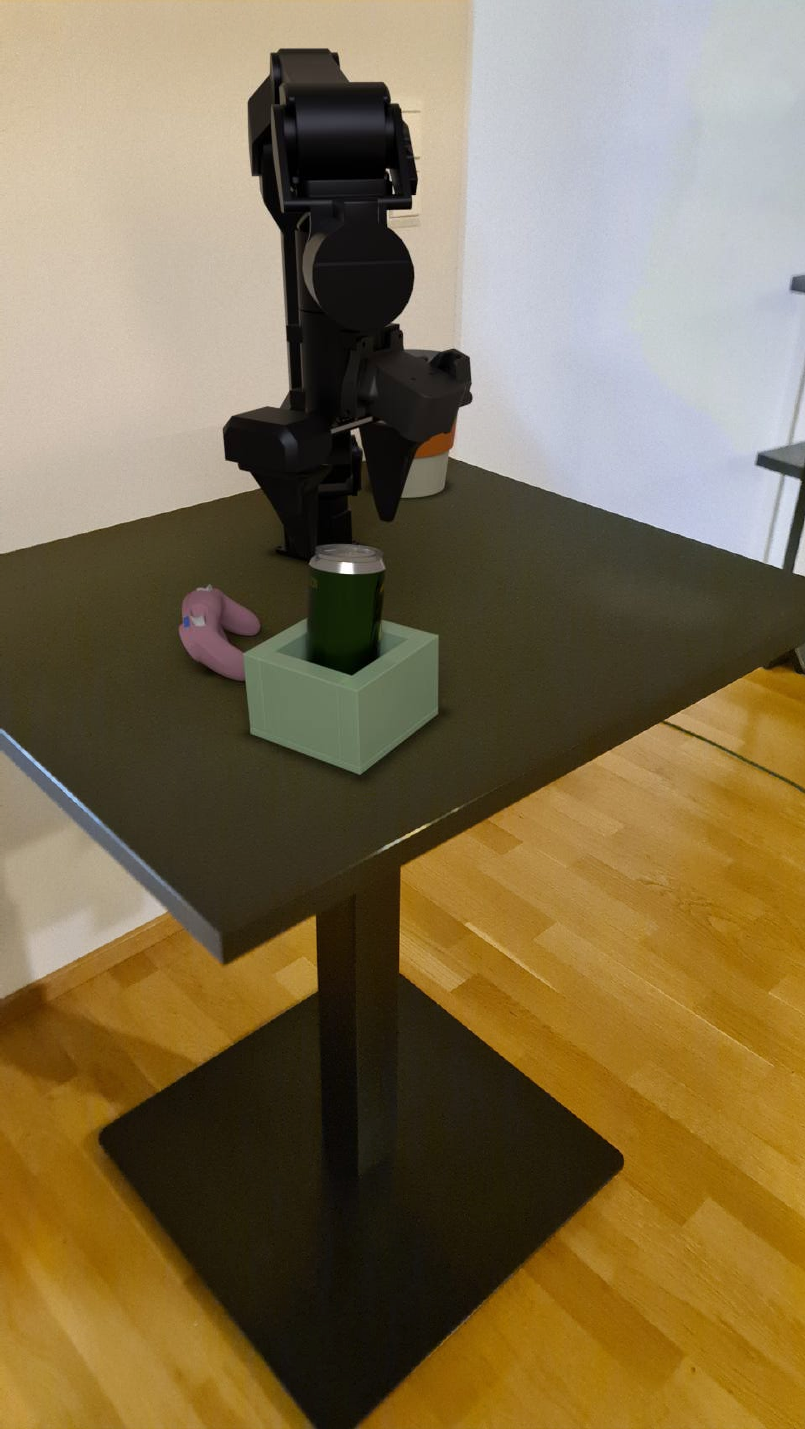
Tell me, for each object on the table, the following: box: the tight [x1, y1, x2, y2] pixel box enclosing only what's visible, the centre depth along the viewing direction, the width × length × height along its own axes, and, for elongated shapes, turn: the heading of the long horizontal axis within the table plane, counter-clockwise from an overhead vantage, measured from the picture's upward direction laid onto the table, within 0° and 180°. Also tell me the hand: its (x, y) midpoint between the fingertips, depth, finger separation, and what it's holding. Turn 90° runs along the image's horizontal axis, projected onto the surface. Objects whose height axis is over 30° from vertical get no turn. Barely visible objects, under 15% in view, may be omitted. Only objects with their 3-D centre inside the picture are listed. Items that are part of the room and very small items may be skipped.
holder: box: [243, 617, 440, 776], centre depth 74 cm, size 10×10×7 cm
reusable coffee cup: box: [360, 348, 459, 499], centre depth 122 cm, size 12×13×15 cm
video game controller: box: [178, 583, 261, 682], centre depth 84 cm, size 10×5×7 cm, turn 5°
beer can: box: [306, 544, 386, 676], centre depth 73 cm, size 5×5×12 cm
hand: (348, 538), depth 74 cm, fingers open, 9 cm apart
